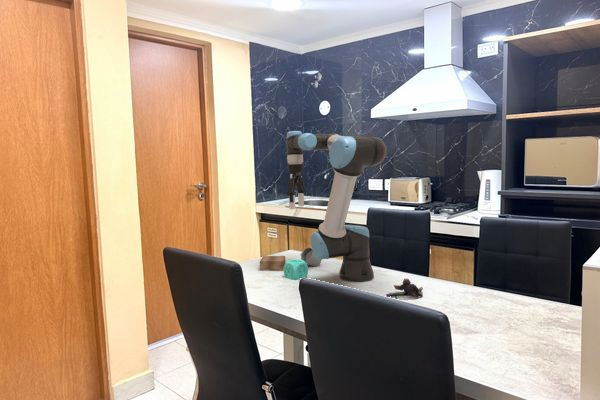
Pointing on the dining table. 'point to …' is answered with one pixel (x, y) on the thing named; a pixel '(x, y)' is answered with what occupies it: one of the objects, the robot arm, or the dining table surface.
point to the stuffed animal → (406, 291)
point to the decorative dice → (295, 269)
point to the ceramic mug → (310, 257)
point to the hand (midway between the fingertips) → (297, 207)
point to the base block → (272, 263)
